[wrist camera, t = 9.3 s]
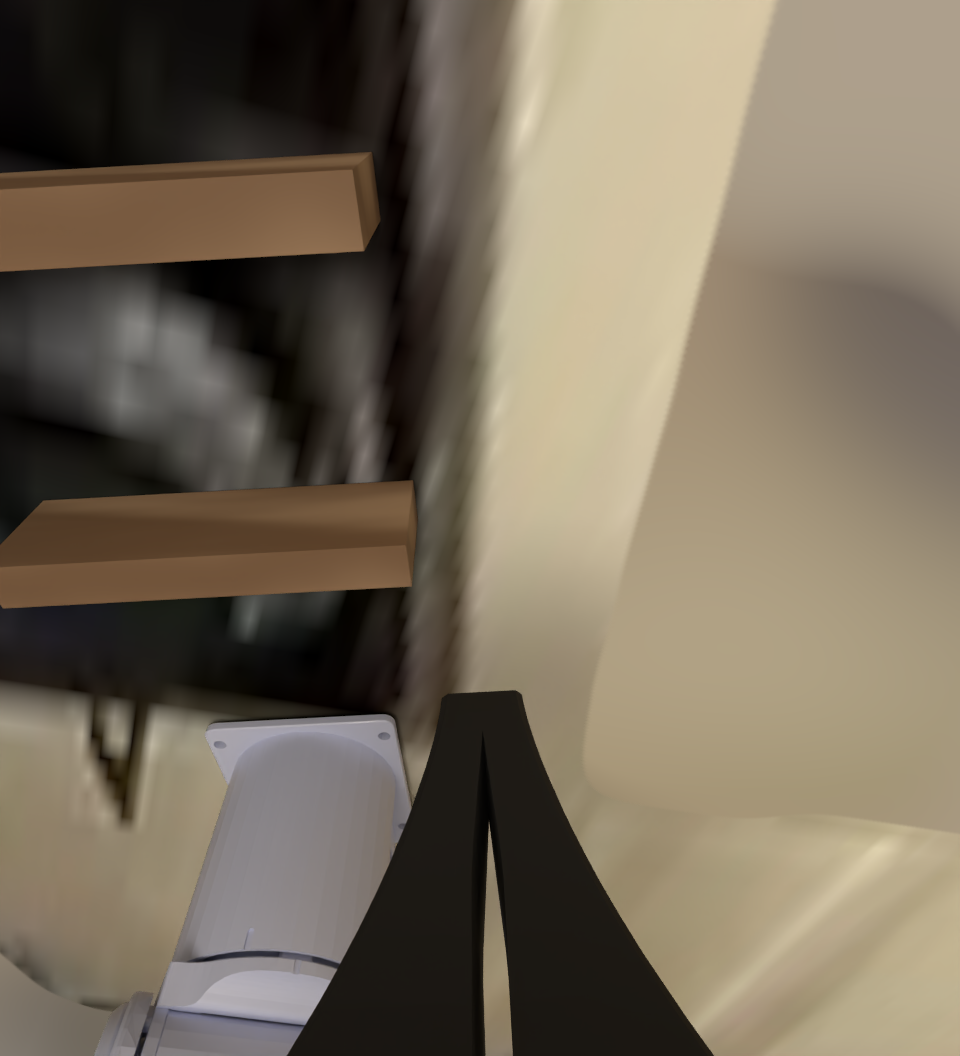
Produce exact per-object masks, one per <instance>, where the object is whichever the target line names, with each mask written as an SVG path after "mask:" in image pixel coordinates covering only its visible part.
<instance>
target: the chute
mask: <svg viewBox="0 0 960 1056" xmlns="http://www.w3.org/2000/svg"><path fill="white" fill-rule="evenodd" d="M379 222H380V212H379V204H378V196H377V188H376V180H375V172H374V164H373V156H372V152H364V153H346V154H329V155H311V156H294V157H276V158H259V159H241V160H224V161H206V162H189V163H171V164H154V165H136V166H119V167H101V168H84V169H66V170H49V171H32V172H14V173H0V272H2V271H20V270H38V269H55V268H73V267H91V266H109V265H126V264H144V263H162V262H179V261H197V260H215V259H233V258H250V257H268V256H286V255H303V254H321V253H339V252H357V251H364V250H365V248H366V246H367V245H368V243H369V241H370V239H371V237H372V235H373V233H374V232H375V230H376V228H377V226H378V224H379ZM417 523H418V516H417V508H416V500H415V492H414V484H413V480H412V481H393V482H375V483H357V484H339V485H320V486H302V487H284V488H266V489H247V490H229V491H211V492H193V493H174V494H156V495H138V496H119V497H101V498H83V499H65V500H46V501H43V502H42V503H41V504H40V505H39V506H38V507H37V508H36V509H35V510H34V511H33V512H32V513H31V514H30V515H29V516H28V517H27V518H26V519H25V520H24V521H23V522H22V523H21V524H20V525H19V526H18V527H17V528H16V529H15V530H14V531H13V532H12V533H11V534H10V536H9V537H8V538H7V539H6V540H5V541H4V542H3V543H2V544H1V545H0V605H1V606H2V608H19V607H38V606H56V605H75V604H93V603H112V602H130V601H149V600H167V599H186V598H205V597H223V596H242V595H260V594H279V593H297V592H316V591H334V590H353V589H371V588H390V587H408V586H412V577H413V567H414V556H415V545H416V534H417Z"/></svg>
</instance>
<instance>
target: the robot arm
mask: <svg viewBox="0 0 960 1056" xmlns="http://www.w3.org/2000/svg"><path fill="white" fill-rule="evenodd" d="M205 738H206V740H207V742H208V744H209V746H210V748H211V751H212V753H213V755H214V757H215V759H216V761H217V763H218V765H219V768H220V770H221V772H222V774H223V776H224V778H225V780H226V782H227V785H228V789H227V792H226V795H225V798H224V801H223V804H222V807H221V810H220V813H219V816H218V819H217V823H216V826H215V829H214V832H213V835H212V838H211V841H210V844H209V847H208V850H207V853H206V857H205V860H204V863H203V866H202V869H201V872H200V875H199V878H198V881H197V884H196V887H195V891H194V894H193V897H192V900H191V903H190V906H189V909H188V912H187V915H186V918H185V921H184V925H183V928H182V931H181V934H180V937H179V940H178V943H177V946H176V949H175V952H174V955H173V959H172V962H170V964H169V967H168V969H167V972H166V975H165V977H164V980H163V983H162V985H161V988H160V990H159V993H158V996H157V998H156V1001H155V1003H154V1006H150V1004H151V1000H152V997H153V993H150V992H142V991H139V992H136V993H134V994H133V995H132V997H131V999H130V1001H129V1002H125V1003H123V1004H122V1005H121V1006H119V1007H118V1008H117V1009H115V1010H114V1011H113V1012H112V1013H111V1015H110V1017H109V1019H108V1021H107V1024H106V1026H105V1029H104V1031H103V1034H102V1036H101V1039H100V1041H99V1044H98V1046H97V1049H96V1051H95V1054H94V1056H485V1028H484V998H483V947H484V923H485V900H486V877H487V853H488V829H489V824H490V831H491V839H492V847H493V855H494V862H495V870H496V878H497V885H498V893H499V901H500V908H501V916H502V924H503V931H504V939H505V947H506V956H507V966H508V976H509V991H510V1009H511V1027H512V1045H513V1056H714V1055H713V1054H712V1052H711V1051H710V1050H709V1048H708V1047H707V1045H706V1044H705V1043H704V1041H703V1040H702V1038H701V1037H700V1036H699V1034H698V1033H697V1032H696V1030H695V1029H694V1027H693V1026H692V1025H691V1023H690V1022H689V1021H688V1019H687V1018H686V1016H685V1015H684V1013H683V1012H682V1010H681V1009H680V1007H679V1006H678V1004H677V1003H676V1001H675V1000H674V998H673V997H672V995H671V994H670V992H669V991H668V989H667V988H666V987H665V985H664V984H663V982H662V981H661V979H660V978H659V976H658V975H657V973H656V972H655V970H654V969H653V967H652V966H651V964H650V963H649V961H648V960H647V958H646V957H645V955H644V954H643V952H642V951H641V949H640V948H639V946H638V944H637V943H636V941H635V939H634V938H633V936H632V935H631V933H630V931H629V930H628V928H627V927H626V925H625V923H624V922H623V920H622V918H621V917H620V915H619V913H618V912H617V910H616V908H615V907H614V905H613V903H612V902H611V900H610V898H609V896H608V895H607V893H606V891H605V890H604V888H603V886H602V884H601V883H600V881H599V879H598V877H597V875H596V874H595V872H594V870H593V868H592V866H591V864H590V862H589V861H588V859H587V857H586V855H585V853H584V851H583V849H582V847H581V845H580V843H579V841H578V839H577V837H576V835H575V834H574V832H573V830H572V828H571V825H570V823H569V821H568V819H567V817H566V815H565V813H564V811H563V809H562V807H561V804H560V802H559V800H558V798H557V795H556V793H555V791H554V789H553V786H552V784H551V782H550V780H549V777H548V775H547V773H546V770H545V768H544V765H543V763H542V760H541V757H540V755H539V752H538V749H537V747H536V744H535V741H534V738H533V735H532V732H531V729H530V726H529V723H528V719H527V716H526V712H525V708H524V703H523V698H522V694H520V693H519V692H517V691H516V690H512V691H493V692H474V693H455V694H447V695H446V696H444V697H443V698H442V701H441V709H440V715H439V720H438V724H437V729H436V733H435V737H434V741H433V745H432V748H431V752H430V755H429V758H428V762H427V765H426V768H425V771H424V774H423V777H422V780H421V783H420V786H419V789H418V792H417V795H416V798H415V800H414V803H413V806H411V801H410V796H409V791H408V785H407V780H406V775H405V770H404V765H403V759H402V754H401V749H400V744H399V739H398V733H397V728H396V723H395V720H394V718H392V717H391V716H389V715H386V714H375V715H356V716H337V717H318V718H300V719H281V720H262V721H243V722H224V723H213V724H211V725H209V726H208V728H207V730H206V733H205ZM395 843H398V844H397V846H396V849H395Z"/></svg>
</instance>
